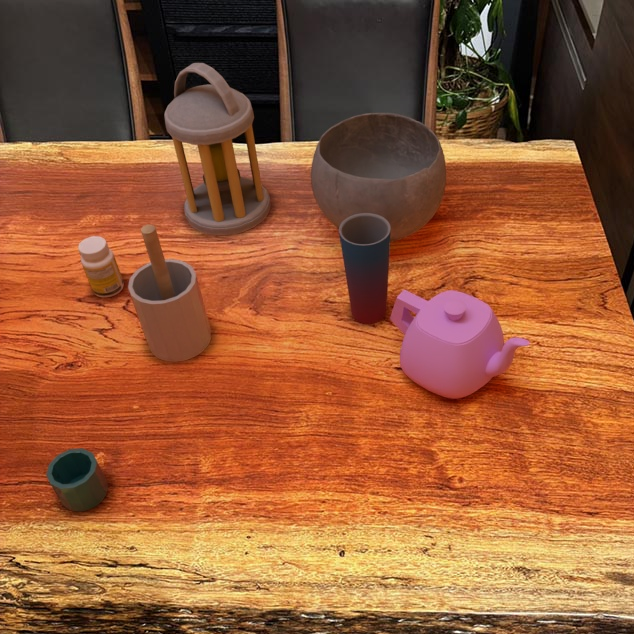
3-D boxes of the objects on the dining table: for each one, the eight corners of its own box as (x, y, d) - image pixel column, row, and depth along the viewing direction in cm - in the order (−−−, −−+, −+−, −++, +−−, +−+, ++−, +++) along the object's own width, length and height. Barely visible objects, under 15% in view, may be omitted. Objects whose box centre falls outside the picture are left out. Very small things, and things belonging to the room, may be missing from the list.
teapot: (495, 433, 101) (503, 374, 92) (366, 367, 109) (362, 307, 101) (545, 367, 108) (556, 307, 99) (420, 310, 116) (421, 250, 108)
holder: (56, 513, 95) (42, 489, 91) (65, 474, 99) (52, 450, 95) (104, 510, 95) (91, 486, 91) (111, 471, 99) (99, 446, 95)
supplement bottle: (101, 275, 123) (84, 232, 117) (129, 279, 123) (114, 235, 116) (87, 296, 120) (69, 253, 114) (116, 300, 120) (100, 256, 113)
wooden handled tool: (168, 344, 112) (134, 237, 98) (171, 329, 114) (137, 222, 100) (190, 343, 112) (158, 235, 98) (192, 328, 114) (161, 220, 100)
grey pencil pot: (144, 364, 111) (123, 305, 102) (152, 319, 116) (133, 261, 108) (208, 359, 111) (192, 301, 103) (213, 315, 117) (198, 256, 108)
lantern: (287, 198, 135) (268, 55, 116) (235, 245, 127) (206, 100, 109) (221, 175, 140) (192, 34, 122) (167, 219, 132) (128, 76, 114)
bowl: (403, 282, 120) (402, 199, 109) (292, 240, 128) (280, 158, 116) (466, 210, 131) (471, 127, 120) (361, 175, 139) (356, 94, 128)
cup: (396, 324, 114) (395, 241, 103) (349, 331, 114) (342, 248, 102) (388, 293, 119) (385, 209, 107) (342, 299, 118) (335, 216, 107)
